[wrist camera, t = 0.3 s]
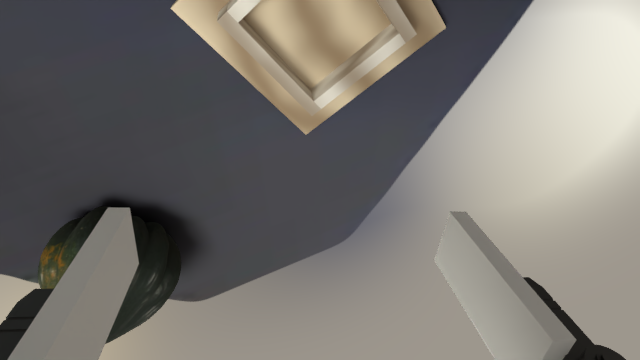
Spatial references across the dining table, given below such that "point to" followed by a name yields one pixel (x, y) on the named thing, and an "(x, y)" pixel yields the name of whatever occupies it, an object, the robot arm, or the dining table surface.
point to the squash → (149, 279)
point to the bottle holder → (312, 46)
